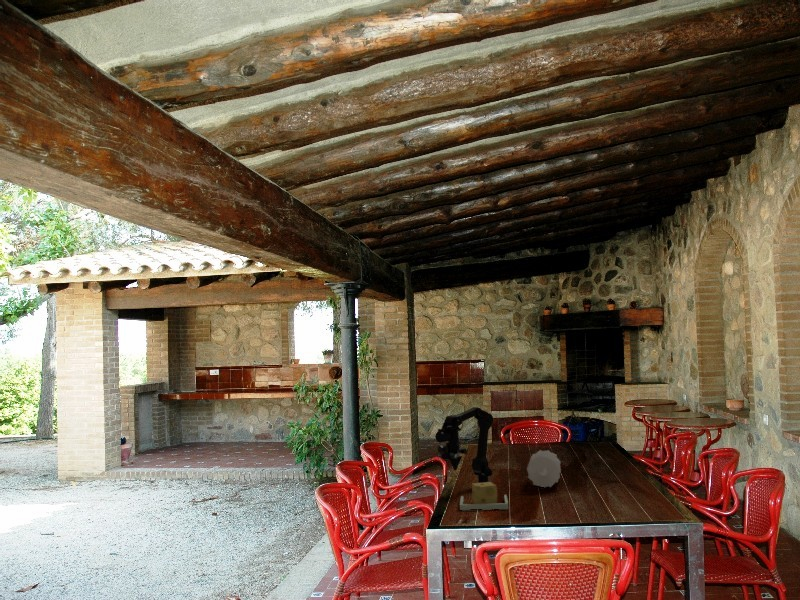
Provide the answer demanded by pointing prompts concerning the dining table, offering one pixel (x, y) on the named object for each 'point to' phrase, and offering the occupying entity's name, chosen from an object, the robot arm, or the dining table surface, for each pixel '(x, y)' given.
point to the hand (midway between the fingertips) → (455, 470)
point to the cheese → (484, 493)
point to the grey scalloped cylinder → (544, 468)
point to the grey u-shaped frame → (484, 505)
